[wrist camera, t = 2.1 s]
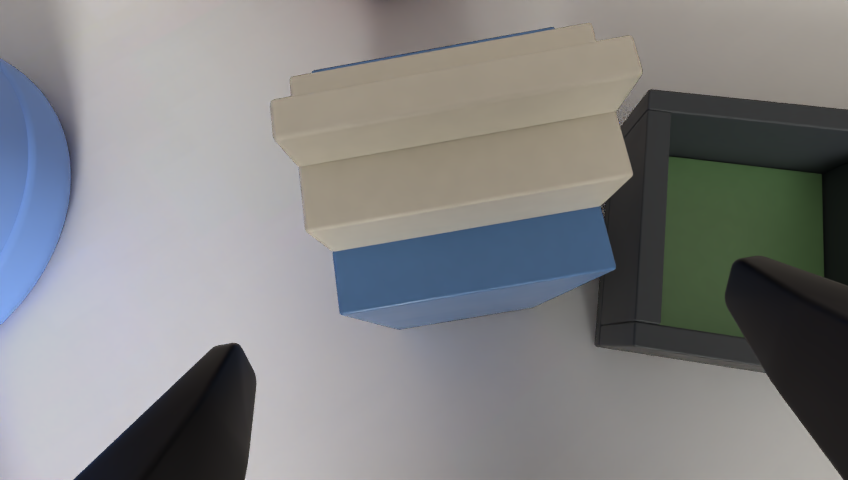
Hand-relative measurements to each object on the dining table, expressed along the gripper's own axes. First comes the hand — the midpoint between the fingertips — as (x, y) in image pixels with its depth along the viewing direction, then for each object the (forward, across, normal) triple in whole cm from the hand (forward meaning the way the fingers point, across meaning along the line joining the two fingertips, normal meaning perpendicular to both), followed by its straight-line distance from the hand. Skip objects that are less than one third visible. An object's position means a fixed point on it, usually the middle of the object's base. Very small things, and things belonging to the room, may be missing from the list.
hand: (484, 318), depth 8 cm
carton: (+10, 0, +5) cm, 11 cm away
